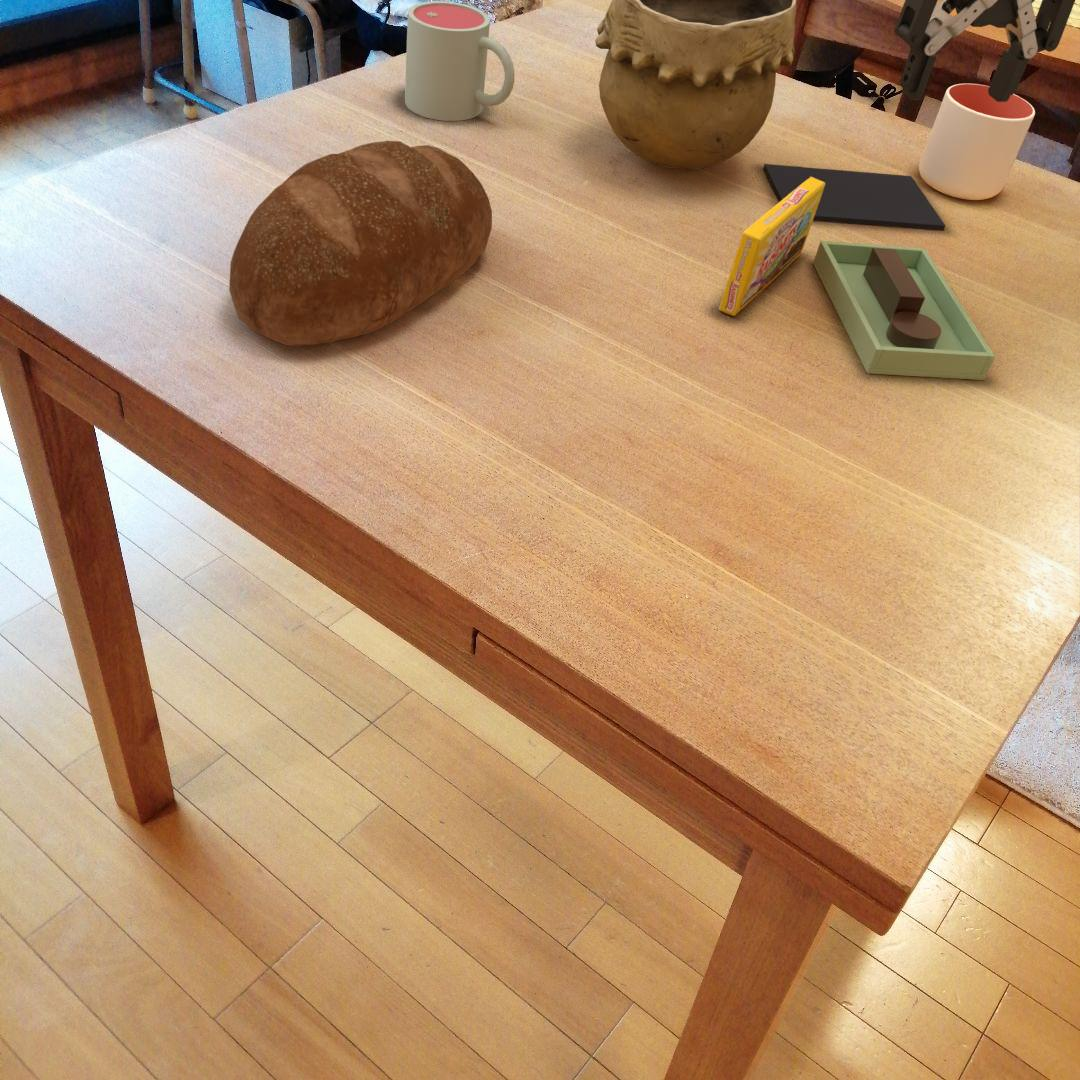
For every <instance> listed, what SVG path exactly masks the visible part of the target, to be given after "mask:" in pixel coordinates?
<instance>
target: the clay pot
mask: <svg viewBox="0 0 1080 1080" xmlns="http://www.w3.org/2000/svg"><path fill="white" fill-rule="evenodd" d="M796 14H797V0H611V2H610V4H609V6H608V9H607V10H606V13H605V15H604V18H602V20H601V22H600V23H599V24H598V26H597V29H596V31H597V36H596V37H595V41H594V42H595V47H596V48H598V49H600V50H602V49H603V50H607V52H606V55H605V59H604V62H603V65H602V69H601V73H600V78H599V82H598V90H599V100H600V103H601V106H602V109H603V112H604V115H605V117H606V119H607V122H608V123H609V126H610V127H611V130H612V131H613V133H614V134H615V136H616V137H617V138H618V140H619V141H620V142H621V143H622V144H623V145H624V146H625V148H627V149H629V150H630V151H631V152H632V153H634V154H635V155H637V156H639V157H640V158H643V159H644V160H646V161H648V162H649V163H652V164H653V165H657V166H660V167H664V168H667V169H668V168H669V169H679V170H697V169H703V168H708V167H712V166H716V165H718V164H721V163H724V162H725V161H727V160H729V159H731V158H732V157H734V156H736V155H737V154H739V153H741V152H742V151H743V150H744V149H746V147H747V146H748V145H749V144H750V143H751V142H752V141H753V140H754V139H755V137H756V136H757V135H758V133H759V132H760V130H761V129H762V128H763V126H764V124H765V123H766V120H767V118H768V115H769V114H770V111H771V109H772V105H773V102H774V96H775V89H776V81H777V79H776V78H777V73H778V71H780V66H785V67H792V65H793V61H794V57H795V54H796V53H795V47H794V46H795V45H794V39H795V29H796V16H797V15H796Z"/></svg>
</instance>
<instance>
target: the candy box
mask: <svg viewBox="0 0 1080 1080" xmlns="http://www.w3.org/2000/svg"><path fill="white" fill-rule="evenodd" d="M824 187H825V182H823V181H820V180H818V179H815V178H813V177H810V178H809V179H807V180H806V181H805V182H803V183H802V184H801V185H800V186H798V187H797V188H796V189H795V190H794V191H792V192H791V193H790V194H789V195H787V196H786V197H785V198H784V199H783V200H781V201H780V202H779V201H778V203H777V204H775V205H774V206H773V207H772V208H770V209H769V210H768V211H766V212H765V213H764V214H763V215H762V216H760V218H758V219H757V220H756V221H754V222H753V223H752V224H751V225H750V226H748V227H747V228H746V229H745V230H744V231H743V232H742V235H741V238H740V241H739V244H738V247H737V250H736V253H735V257H734V260H733V263H732V266H731V269H730V272H729V275H728V279H727V281H726V285H725V288H724V291H723V295H722V298H721V301H720V304H719V307H718V311H719V312H721V313H723V314H727V315H729V316H732V317H735V316H736V315H737V314H739V312H740V311H741V310H743V309H744V308H745V307H746V306H747V305H748V304H749V303H750V302H752V301H753V299H755V298H756V297H757V296H758V295H759V294H760V293H761V292H763V290H765V289H766V288H767V287H768V286H769V285H770V284H771V283H772V282H773V281H774V280H775V279H776V278H777V277H778V276H779V275H780V274H781V273H783V272H784V270H786V269H787V268H788V267H789V266H790V265H791V264H792V263H793V262H794V261H795V260H796V259H797V258H799V257H800V256H801V255H802V252H803V250H804V246H805V244H806V241H807V239H808V235H809V233H810V231H811V230H810V229H811V227H812V224H813V222H814V220H813V219H814V216H815V213H816V210H817V207H818V204H819V202H820V199H821V196H822V193H823V190H824Z"/></svg>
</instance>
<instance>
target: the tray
mask: <svg viewBox="0 0 1080 1080" xmlns="http://www.w3.org/2000/svg"><path fill="white" fill-rule="evenodd" d="M873 248H884V249H896V251H897V252H898V254H899V256H900V257H901V259H902V261H903V262H904V264H905V266H906V267H907V269H908V271H909V272H910V274H911V275H912V277H913V279H914V280H915V282H916V284H917V285H918V287H919V289H920V290H921V292H922V294H923V295H924V297H925V300H924V302H923V304H922V307H921V309H920V312H919V314H923V315H925V316H927V317H929V318H931V319H933V320H934V321H935V322H936V323H937V324H938V325H939V326H940V328H941V334H940V337H939V339H938V341H937V344H936V346H935V348H934V349H921V348H905V347H896V346H895V345H893V344H892V343H891V342H890V341H889V340H888V338H887V336H886V331H887V329H888V326H889V324H890V322H889V320H888V319H887V317H886V315H885V313H884V311H883V309H882V308H881V306H880V304H879V302H878V300H877V299H876V297H875V295H874V293H873V291H872V289H871V288H870V286H869V284H868V282H867V280H866V279H865V277H864V275H863V273H864V271H865V268H866V265H867V262H868V260H869V257H870V254H871V251H872V249H873ZM812 264H813V266H814V268H815V270H816V272H817V274H818V276H819V278H820V280H821V282H822V285H823V287H824V289H825V291H826V293H827V295H828V296H829V298H830V301H831V303H832V305H833V307H834V309H835V311H836V313H837V316H838V317H839V320H840V321H841V324H842V325H843V327H844V329H845V331H846V333H847V336H848V337H849V339H850V341H851V343H852V345H853V347H854V349H855V352H856V353H857V356H858V358H859V359H860V361H861V364H862V365H863V368H864V370H865V373H866V374H869V375H872V374H873V375H891V376H907V377H925V378H926V377H927V378H941V379H942V378H943V379H960V380H975V381H977V380H978V381H984V380H985V379H986V377H987V375H988V372H989V371H990V368H991V366H992V364H993V363H994V360H995V359H996V355H995V354H994V352H993V351H992V349H991V347H990V346H989V344H988V343H987V341H986V340H985V338H984V337H983V335H982V334H981V331H980V330H979V329H978V327H977V326H976V324H975V323H974V321H973V319H972V318H971V316H970V315H969V314H968V312H967V310H966V309H965V307H964V306H963V304H962V302H961V301H960V300H959V298H958V297H957V295H956V294H955V292H954V291H953V289H952V287H951V286H950V284H949V282H948V281H947V279H946V278H945V276H944V275H943V273H942V272H941V270H940V269H939V267H938V266H937V264H936V263H935V261H934V259H933V258H932V256H931V255H930V253H929V251H928V250H927V249H926V248H924V247H914V246H913V247H912V246H911V247H910V246H898V245H886V244H885V245H883V244H871V243H860V242H859V243H857V242H844V241H831V240H820V241H819V244H818V247H817V251H816V253H815V257H814V259H813V262H812Z"/></svg>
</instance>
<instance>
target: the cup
mask: <svg viewBox="0 0 1080 1080" xmlns="http://www.w3.org/2000/svg"><path fill="white" fill-rule="evenodd" d="M989 86H990V85H985V84H979V83H958V84H954V85H951V86H949V87H948V88H947V89H945V90H946V91H945V93H944V96H943V98H942V102H941V104H940V107H939V109H938V113H937V115H936V117H935V120H934V123H933V126H932V128H931V131H930V133H929V136H928V139H927V141H926V144H925V147H924V149H923V152H922V155H921V157H920V161H919V163H918V171H919V175H920V176H921V179H922V180H923V181H924V182H925V184H926V185H928V186H929V187H931V188H933V189H934V190H935V191H937V192H939V193H942V194H944V195H946V196H950V197H953V198H957V199H960V200H968V201H982V200H987V199H990V198H991V199H992V198H994V197H995V196H997V195H999V193H1000V192H1001V191H1002V190H1003V188H1004V186H1005V184H1006V182H1007V179H1008V177H1009V175H1010V172H1011V170H1012V168H1013V166H1014V163H1015V162H1016V160H1017V157H1018V155H1019V152H1020V150H1021V148H1022V145H1023V143H1024V140H1025V138H1026V136H1027V135H1028V132H1029V129H1030V127H1031V124H1032V122H1033V120H1034V117H1035V115H1036V110H1035V108H1034V106H1033V105H1032V104H1031V103H1030V102H1029V101H1027V100H1026V99H1024V98H1022V97H1021V96H1019V95H1016V94H1015V93H1013V95H1010V98H1009V100H1008V101H1007V102H997V101H996V100H995V99H993V98H992V97H991V96H990V95H989V94H988V89H989Z"/></svg>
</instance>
